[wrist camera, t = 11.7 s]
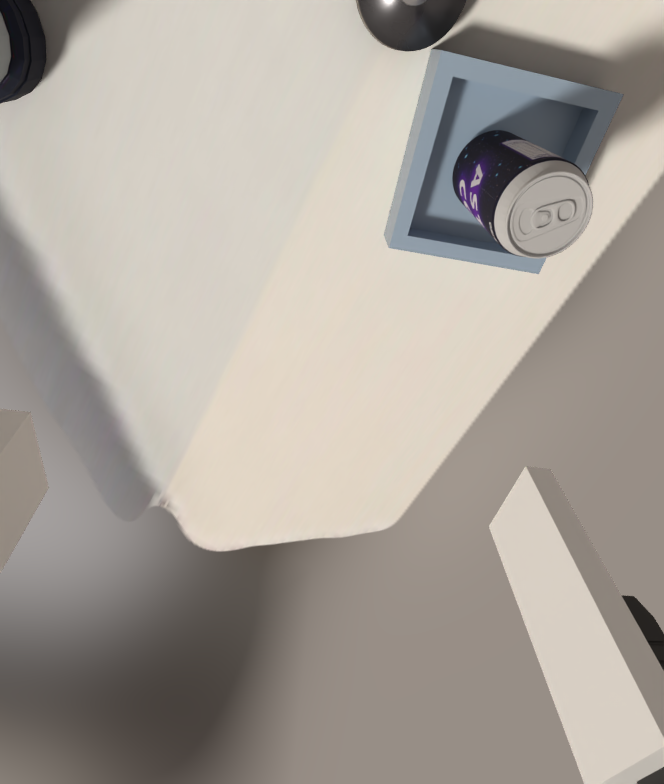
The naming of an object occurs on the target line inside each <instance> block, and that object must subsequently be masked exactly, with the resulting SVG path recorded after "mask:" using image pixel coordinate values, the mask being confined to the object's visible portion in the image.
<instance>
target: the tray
mask: <svg viewBox="0 0 664 784" xmlns="http://www.w3.org/2000/svg"><path fill="white" fill-rule="evenodd" d="M623 95H624V94H620V93H616V92H612V91H608V90H604V89H600V88H596V87H591V86H587V85H583V84H579V83H575V82H571V81H567V80H563V79H558V78H554V77H550V76H546V75H542V74H538V73H534V72H530V71H525V70H521V69H517V68H513V67H509V66H505V65H501V64H497V63H492V62H488V61H484V60H480V59H476V58H472V57H468V56H464V55H459V54H455V53H451V52H447V51H443V50H436V49H431V53H430V57H429V61H428V65H427V69H426V73H425V77H424V81H423V84H422V88H421V92H420V96H419V100H418V104H417V108H416V112H415V116H414V120H413V124H412V127H411V131H410V135H409V139H408V143H407V147H406V151H405V155H404V159H403V163H402V167H401V170H400V174H399V178H398V182H397V186H396V190H395V194H394V198H393V202H392V206H391V210H390V213H389V217H388V221H387V225H386V229H385V233H384V236H385V239H386V242H387V244H388V247H389V248H393V249H398V250H404V251H410V252H415V253H421V254H427V255H433V256H438V257H444V258H450V259H455V260H461V261H467V262H473V263H478V264H484V265H490V266H496V267H501V268H507V269H513V270H518V271H524V272H530V273H536V274H539V272H540V270H541V268H542V266H543V264H544V262H545V260H546V258H528V257H521V256H516V255H513V254H511V253H509V252H507V251H506V250H504V249H503V248H502V247H501V246H500V245H499V243H498V242H497V241H496V240H495V239H494V238H493V237H492V236H491V235H490V234H489V232H488V231H487V230H486V229H485V228H484V227H483V226H482V225H481V224H480V223H479V222H478V220H477V219H476V218H475V217H474V216H473V215H472V214H471V213H470V212H469V211H468V209H467V208H466V207H465V206H464V205H463V204H462V203H461V202H460V201H459V199H458V198H457V196H456V194H455V192H454V188H453V182H452V176H453V169H454V165H455V163H456V160H457V158H458V156H459V154H460V153H461V151H462V150H463V148H464V147H465V146H466V145H467V144H468V143H469V142H470V141H471V140H473V139H474V138H475V137H477V136H479V135H481V134H483V133H485V132H488V131H493V130H503V131H507V132H510V133H512V134H514V135H516V136H518V137H521V138H523V139H525V140H527V141H529V142H531V143H533V144H535V145H537V146H539V147H541V148H543V149H545V150H547V151H550V152H552V153H554V154H556V155H558V156H560V157H562V158H564V159H566V160H568V161H570V162H572V163H574V164H575V165H577V166H578V167H579V168H580V169H581V170H582V171H583V173H584V174H585V175H586V173H587V171H588V169H589V167H590V165H591V162H592V160H593V158H594V156H595V154H596V152H597V150H598V148H599V146H600V143H601V141H602V139H603V137H604V135H605V133H606V131H607V129H608V127H609V124H610V122H611V120H612V118H613V116H614V114H615V112H616V110H617V108H618V105H619V103H620V101H621V99H622V97H623Z"/></svg>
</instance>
